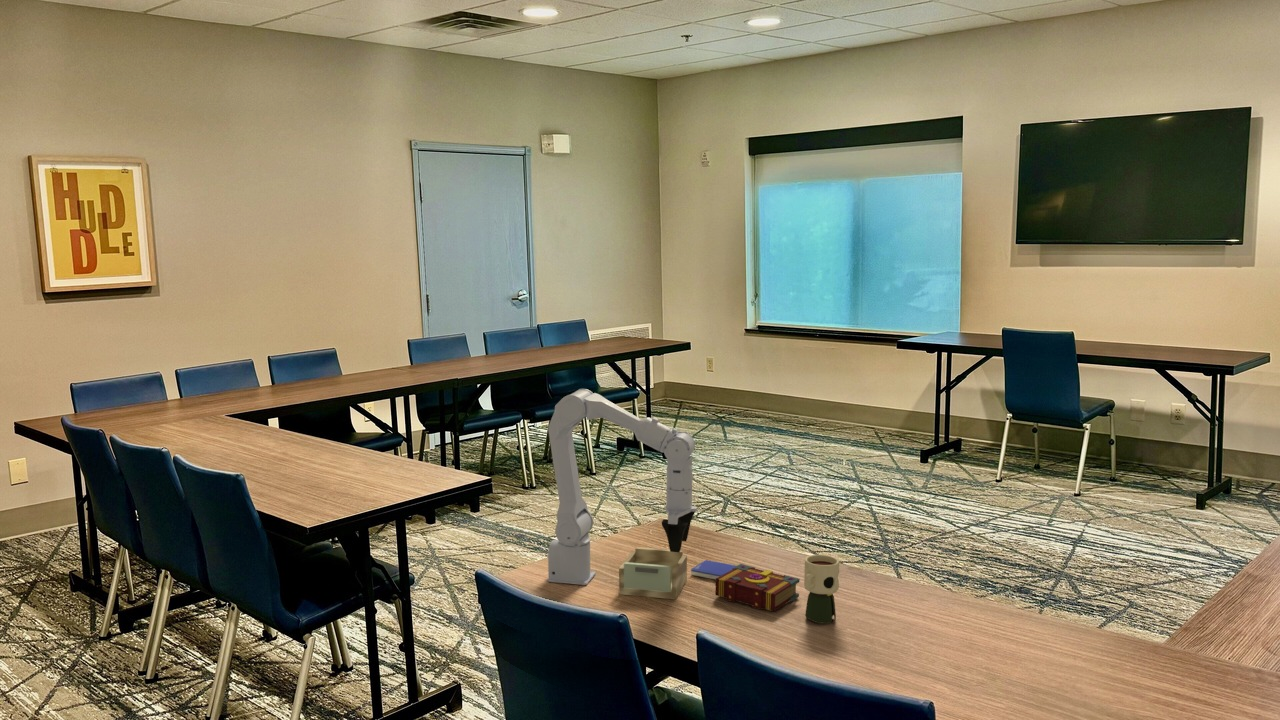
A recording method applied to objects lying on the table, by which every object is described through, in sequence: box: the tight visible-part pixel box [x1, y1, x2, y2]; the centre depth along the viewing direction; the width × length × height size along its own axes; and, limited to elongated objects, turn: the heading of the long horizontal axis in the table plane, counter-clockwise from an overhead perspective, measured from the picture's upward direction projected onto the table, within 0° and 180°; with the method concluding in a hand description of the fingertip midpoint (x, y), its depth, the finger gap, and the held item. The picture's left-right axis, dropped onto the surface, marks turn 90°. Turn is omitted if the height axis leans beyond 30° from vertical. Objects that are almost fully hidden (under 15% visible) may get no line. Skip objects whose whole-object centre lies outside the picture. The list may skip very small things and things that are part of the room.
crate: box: [618, 546, 688, 600], centre depth 223 cm, size 13×12×7 cm
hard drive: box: [690, 559, 737, 580], centre depth 231 cm, size 2×8×12 cm
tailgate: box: [624, 562, 671, 592], centre depth 217 cm, size 10×2×6 cm, turn 76°
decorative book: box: [714, 563, 801, 612], centre depth 217 cm, size 11×16×5 cm
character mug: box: [803, 554, 840, 624], centre depth 204 cm, size 11×7×13 cm, turn 137°
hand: (678, 546), depth 221 cm, fingers open, 7 cm apart
